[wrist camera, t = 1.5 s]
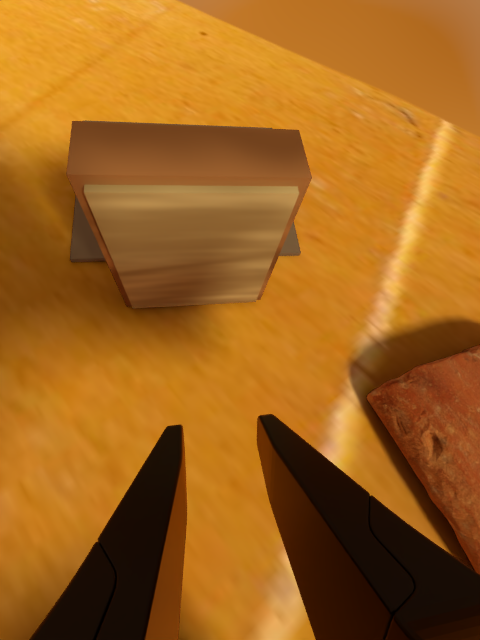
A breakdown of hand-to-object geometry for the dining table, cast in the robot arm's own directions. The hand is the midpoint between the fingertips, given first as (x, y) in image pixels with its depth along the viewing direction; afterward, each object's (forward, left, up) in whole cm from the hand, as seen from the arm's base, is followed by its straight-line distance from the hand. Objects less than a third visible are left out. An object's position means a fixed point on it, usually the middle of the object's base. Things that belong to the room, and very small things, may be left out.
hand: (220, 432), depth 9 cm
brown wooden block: (+9, +7, -13) cm, 17 cm away
